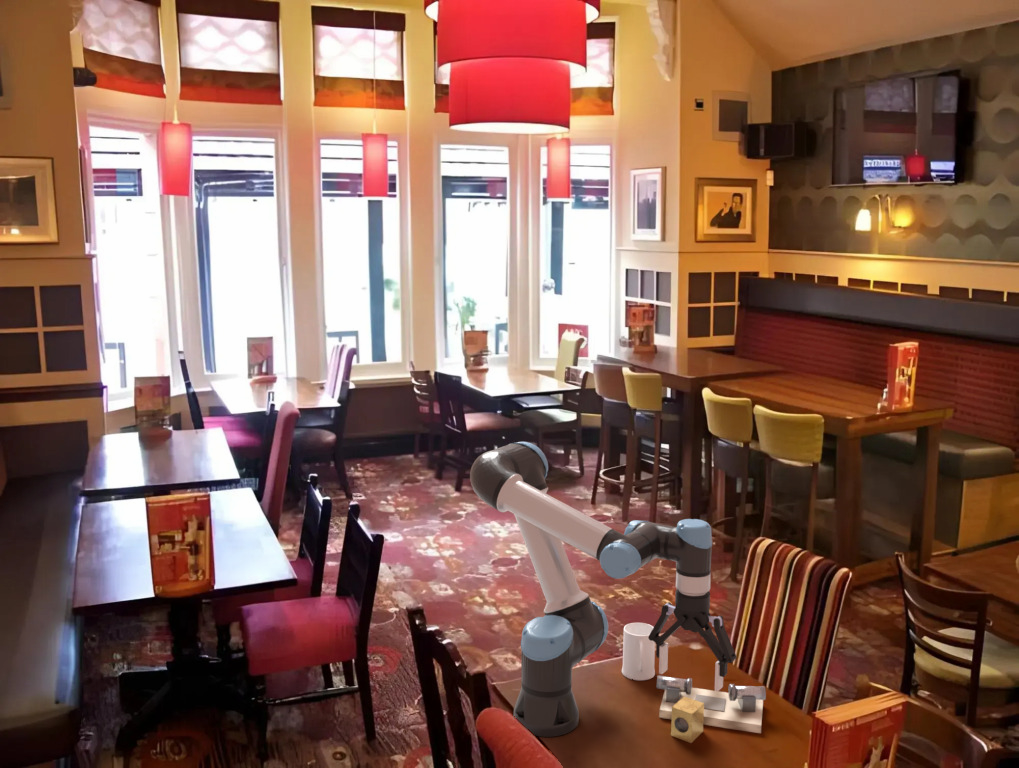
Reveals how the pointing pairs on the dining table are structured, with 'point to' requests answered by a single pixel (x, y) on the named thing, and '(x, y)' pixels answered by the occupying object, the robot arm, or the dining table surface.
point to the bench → (720, 710)
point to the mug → (638, 652)
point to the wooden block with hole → (687, 719)
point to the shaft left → (674, 687)
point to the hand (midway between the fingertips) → (690, 680)
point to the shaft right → (746, 696)
